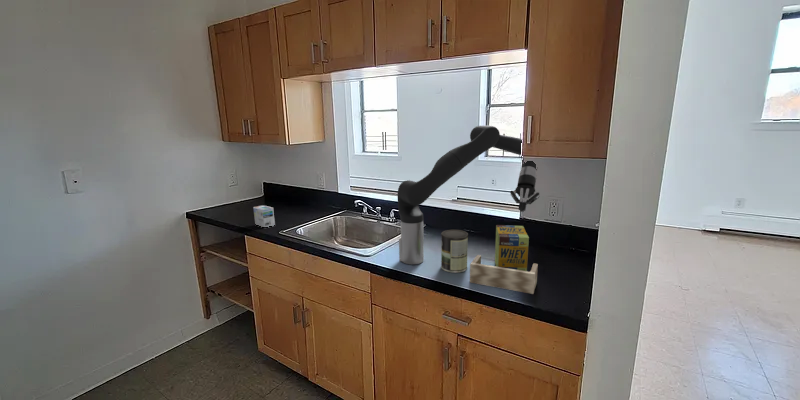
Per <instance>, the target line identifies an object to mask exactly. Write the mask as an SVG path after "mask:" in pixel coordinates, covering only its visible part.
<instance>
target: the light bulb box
mask: <svg viewBox="0 0 800 400" xmlns="http://www.w3.org/2000/svg"><path fill="white" fill-rule="evenodd" d="M252 208H253V215H254V223H255V224H256V225H259V226H261V227H260V228H262V227H268V228H270V227H269V226H272V227H275V226H276V221H275V220H276V219H275V215H274V214H275V213H274V207H271V206H267V205H265V204H264V205H263V204H262V205H258V206H253V207H252ZM255 224H254V225H255ZM256 225H255V226H256ZM274 225H275V226H274ZM259 226H258V227H259Z"/></svg>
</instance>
